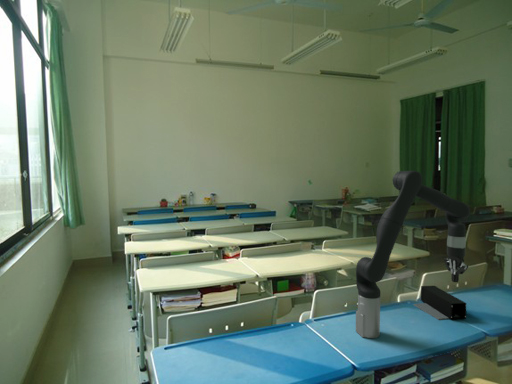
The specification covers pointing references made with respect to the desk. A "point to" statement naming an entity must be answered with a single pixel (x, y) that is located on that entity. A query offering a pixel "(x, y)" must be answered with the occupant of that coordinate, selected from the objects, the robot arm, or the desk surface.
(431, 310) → the rubber mat
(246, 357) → the desk surface
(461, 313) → the black rectangular bar
